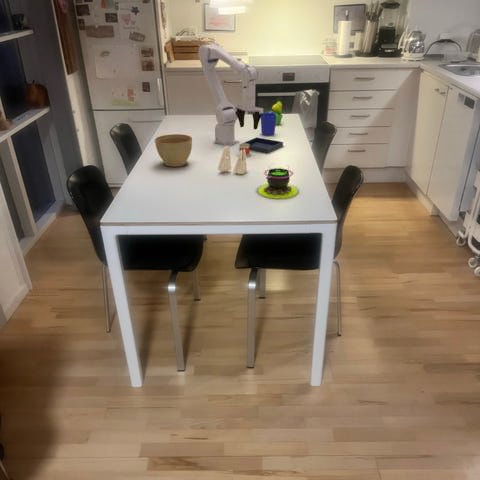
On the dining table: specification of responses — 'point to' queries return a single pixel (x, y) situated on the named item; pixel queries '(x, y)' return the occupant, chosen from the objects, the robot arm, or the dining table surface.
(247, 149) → the tin can
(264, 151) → the tray
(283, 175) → the toy cauldron
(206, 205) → the dining table surface
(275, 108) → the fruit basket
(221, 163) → the shaker set
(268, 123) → the mug
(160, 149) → the planter bowl
